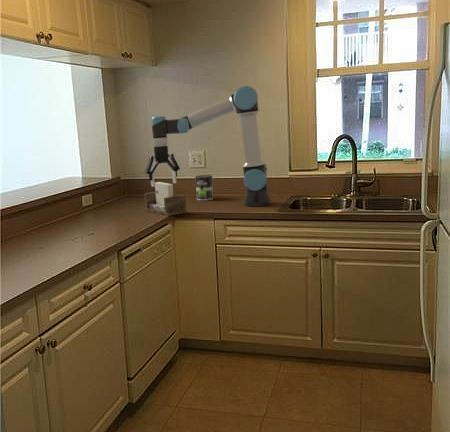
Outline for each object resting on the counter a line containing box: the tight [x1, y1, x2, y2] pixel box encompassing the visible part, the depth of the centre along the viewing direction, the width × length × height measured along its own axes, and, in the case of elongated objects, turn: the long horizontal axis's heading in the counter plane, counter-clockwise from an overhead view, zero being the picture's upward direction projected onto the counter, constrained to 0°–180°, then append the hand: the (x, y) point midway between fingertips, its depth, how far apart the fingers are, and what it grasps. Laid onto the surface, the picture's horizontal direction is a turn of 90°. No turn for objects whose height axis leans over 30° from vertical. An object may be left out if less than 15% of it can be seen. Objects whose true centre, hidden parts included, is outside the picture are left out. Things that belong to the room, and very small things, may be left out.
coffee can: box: [194, 174, 214, 201], centre depth 320 cm, size 10×10×14 cm
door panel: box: [154, 181, 174, 206], centre depth 288 cm, size 14×3×14 cm, turn 36°
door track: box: [143, 191, 187, 217], centre depth 289 cm, size 24×12×10 cm, turn 36°
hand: (164, 184), depth 287 cm, fingers open, 13 cm apart
